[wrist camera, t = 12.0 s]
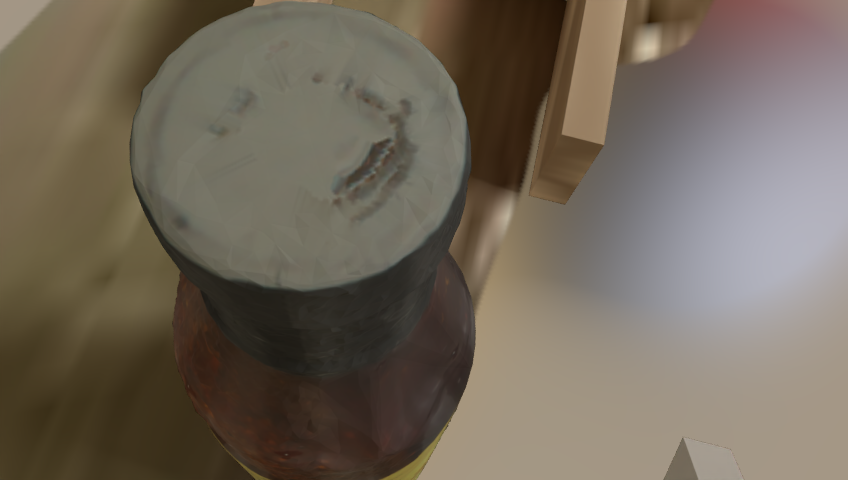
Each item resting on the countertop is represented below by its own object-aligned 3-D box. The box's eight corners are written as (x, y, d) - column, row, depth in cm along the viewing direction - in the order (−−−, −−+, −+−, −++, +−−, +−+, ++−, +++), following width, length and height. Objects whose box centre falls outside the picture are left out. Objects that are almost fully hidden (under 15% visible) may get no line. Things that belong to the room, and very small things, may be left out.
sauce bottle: (459, 471, 27) (706, 303, 9) (290, 557, 25) (156, 575, 7) (379, 306, 29) (442, -118, 11) (218, 377, 27) (-35, 24, 9)
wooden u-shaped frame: (603, -17, 36) (643, -101, 31) (565, 204, 31) (603, 145, 27) (327, -88, 35) (326, -183, 31) (250, 125, 31) (235, 51, 27)
